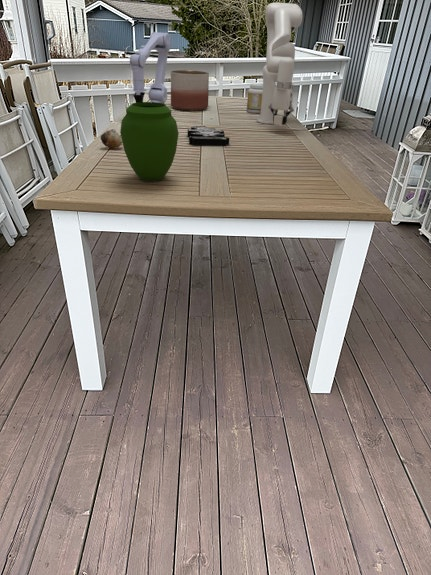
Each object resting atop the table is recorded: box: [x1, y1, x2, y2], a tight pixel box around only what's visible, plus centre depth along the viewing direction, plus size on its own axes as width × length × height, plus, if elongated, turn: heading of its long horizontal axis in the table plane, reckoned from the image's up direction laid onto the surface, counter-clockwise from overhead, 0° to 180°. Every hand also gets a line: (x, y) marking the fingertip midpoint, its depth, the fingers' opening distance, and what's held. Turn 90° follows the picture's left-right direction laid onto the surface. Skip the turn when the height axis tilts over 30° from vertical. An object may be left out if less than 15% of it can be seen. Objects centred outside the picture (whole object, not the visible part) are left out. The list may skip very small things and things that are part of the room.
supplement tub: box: [246, 83, 263, 114], centre depth 274 cm, size 12×12×17 cm
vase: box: [119, 101, 179, 182], centre depth 140 cm, size 20×20×24 cm
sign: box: [187, 125, 230, 147], centre depth 203 cm, size 19×3×30 cm
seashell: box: [100, 128, 123, 149], centre depth 178 cm, size 10×6×8 cm, turn 91°
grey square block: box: [272, 114, 284, 126], centre depth 218 cm, size 5×5×4 cm
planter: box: [170, 69, 210, 112], centre depth 273 cm, size 25×25×22 cm
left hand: (139, 107), depth 226 cm, fingers open, 7 cm apart
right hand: (279, 123), depth 219 cm, fingers closed on grey square block, 4 cm apart
